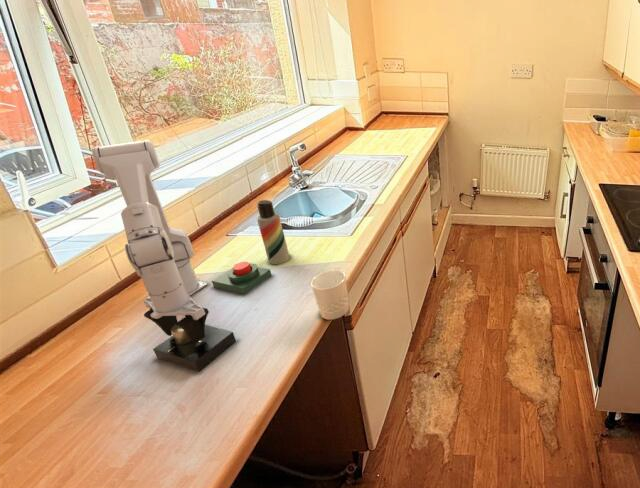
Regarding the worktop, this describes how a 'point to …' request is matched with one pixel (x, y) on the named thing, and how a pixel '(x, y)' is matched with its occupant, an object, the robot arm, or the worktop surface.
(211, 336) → the dial panel
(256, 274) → the button block
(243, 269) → the button
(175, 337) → the dial
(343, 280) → the white cup
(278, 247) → the lotion bottle
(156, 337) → the worktop surface
